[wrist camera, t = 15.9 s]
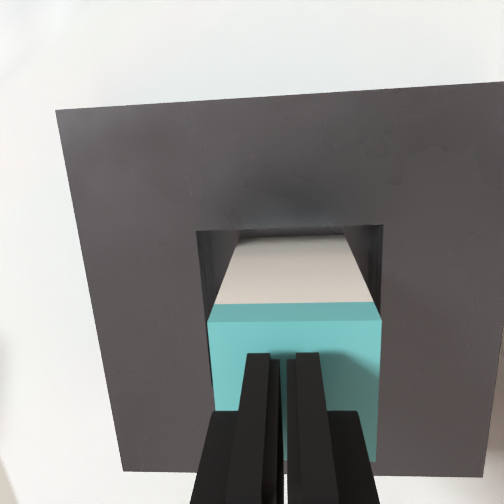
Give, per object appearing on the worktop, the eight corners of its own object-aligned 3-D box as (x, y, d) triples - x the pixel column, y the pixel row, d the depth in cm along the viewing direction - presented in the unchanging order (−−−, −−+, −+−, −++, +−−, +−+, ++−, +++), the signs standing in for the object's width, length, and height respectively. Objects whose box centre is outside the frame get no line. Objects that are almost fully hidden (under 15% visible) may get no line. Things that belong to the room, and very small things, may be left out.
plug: (344, 234, 16) (381, 320, 10) (342, 329, 18) (375, 461, 11) (239, 237, 17) (207, 322, 10) (245, 330, 18) (220, 459, 11)
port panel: (489, 84, 15) (536, 79, 12) (453, 422, 19) (482, 477, 16) (95, 109, 16) (55, 110, 13) (145, 421, 21) (123, 471, 18)
